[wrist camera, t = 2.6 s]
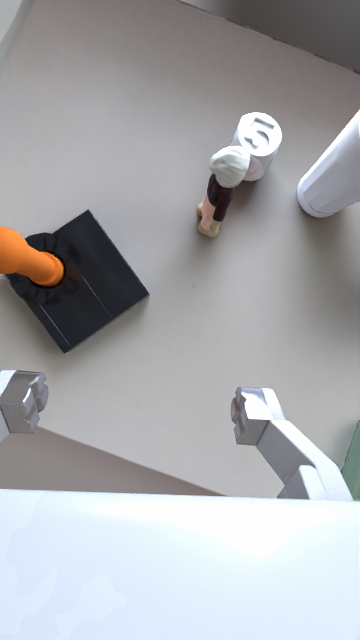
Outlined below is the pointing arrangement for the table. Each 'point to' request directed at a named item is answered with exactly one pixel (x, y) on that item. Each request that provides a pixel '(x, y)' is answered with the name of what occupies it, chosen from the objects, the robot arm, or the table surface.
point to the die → (258, 142)
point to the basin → (353, 466)
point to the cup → (334, 175)
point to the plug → (29, 260)
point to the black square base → (80, 283)
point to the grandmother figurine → (222, 187)
